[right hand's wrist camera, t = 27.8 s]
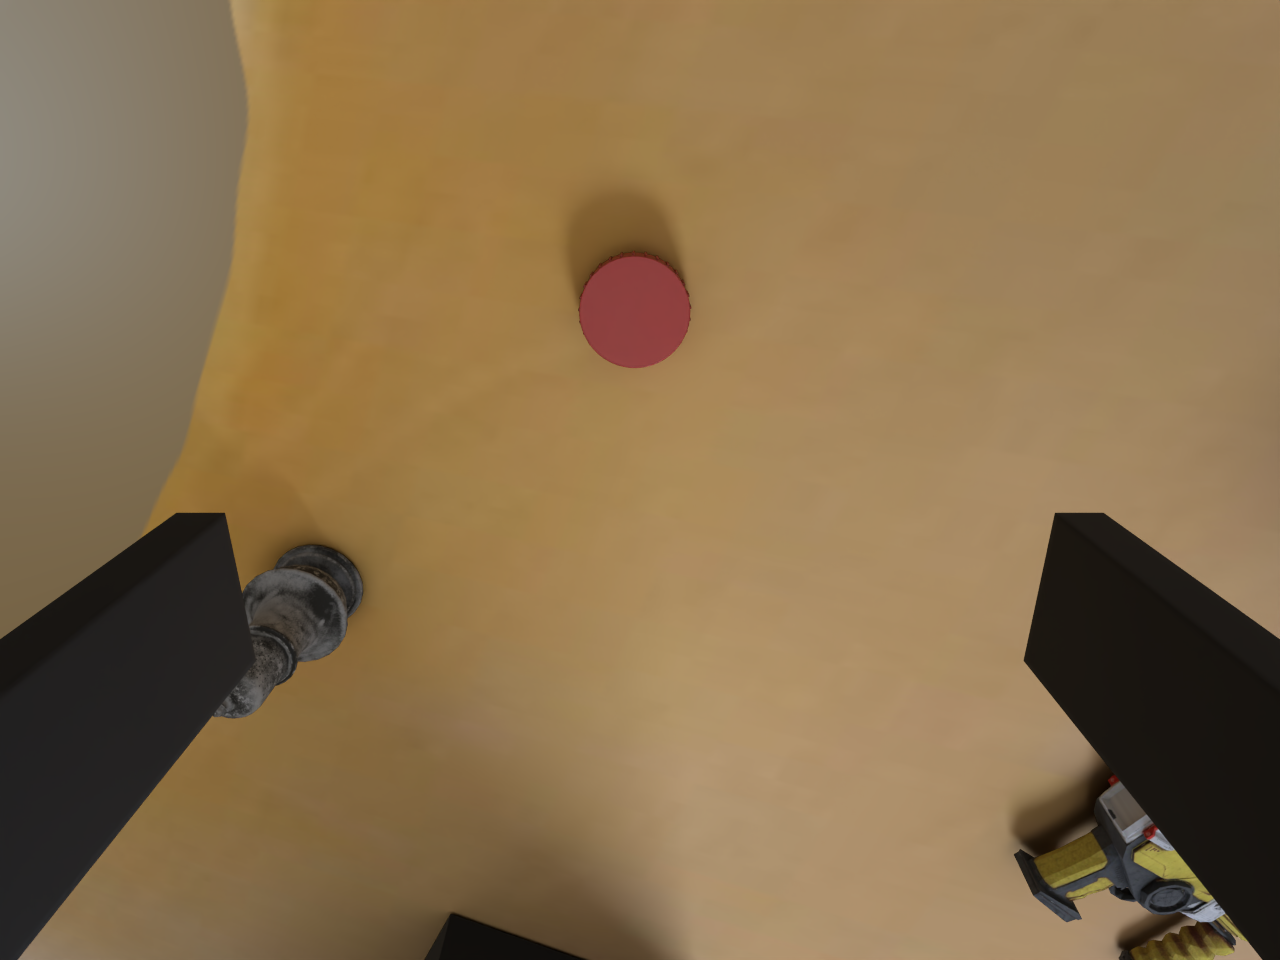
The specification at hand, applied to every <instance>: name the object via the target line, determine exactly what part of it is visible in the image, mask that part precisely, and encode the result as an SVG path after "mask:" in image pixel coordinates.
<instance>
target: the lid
mask: <svg viewBox="0 0 1280 960" xmlns="http://www.w3.org/2000/svg"><path fill="white" fill-rule="evenodd" d="M684 285H685V283H684V281H683V279H682V280H681V279H680V277H679V276H678V272H677V270H674V269H673V268H672V267H671V266H669V263H668V262H664V261H663V260H661V259H659V258H658V256H657V255H656V257H655V256H653V255H649V254H647V252H644V253H636V252H635V251H633V252H632V253H624V254H623V252H622V253H621V254H620V255H617V256H615V257H609V260H607V261H605V262H604V263H603V264H602V263H600V264H599V266H598V268H597V269H596V270H595V271H594V272H593V271H592V273H591V274H590V279H589V280H588V282H586V283H585V285H584V291H583V293H582V294H581V296H580V299H581V301H580V307H579V309H578V311H579V316H580V321H579V322H580V323H581V327H582V330H583V334H584V335H585V337H586V339H587V341H588V343H589V344H590V345H591V347H592V348H593V349H594V350H595V351H596V352H597V353H598V354H599V355H600V356H601V357H603V358H604V359H606V360H607V361H609V362H611V363H614V364H616V365H619V366H623V367H629V368H641V367H647V366H651V365H654V364H656V363H659V362H660V361H662V360H664V359H666V358H667V357H668V356H670V355H671V354H672V353H673V352H674V351H675V350H676V349H677V347H678V346H679V345H680V344H681V343H682V340H683V339H684V337H685V334H686V333H687V329H688V326H689V321H690V320H691V319H690V309H691V305H690V303H689V299H688V297H689V293H688V291H686V290H685V287H684Z"/></svg>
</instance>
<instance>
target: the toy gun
mask: <svg viewBox="0 0 1280 960" xmlns="http://www.w3.org/2000/svg"><path fill="white" fill-rule="evenodd" d="M1108 781H1109V783H1110V785H1111V787H1110V788H1109V789H1107V790H1106V791H1105V792H1104V793H1103V794H1102V795H1101V796H1099V797H1098V798H1097V800H1096V804H1095V808H1094V814H1095V817H1096V820H1097V824H1098V827H1096V828H1095V829H1093V830H1092V831H1091V832H1090V833H1088V834H1086V835H1084V836H1082V837H1080V838H1078V839H1077V840H1075V841H1073V842H1071V843H1069V844H1067V845H1065V846H1063V847H1061V848H1059V849H1056V850H1054V851H1051V852H1049V853H1046V854H1044V855H1041V856H1038V857H1032V856H1031V855H1029V854H1027V853H1026V852H1024V851H1022V850H1021V849H1020V850H1019V852H1017V853H1015V854H1014V856H1015V858H1016V860H1017V862H1018V864H1019V866H1020V868H1021V871H1022V873H1023V875H1024V877H1025V879H1026V881H1027V883H1028V885H1029V888H1030V890H1031V892H1032V894H1033V896H1035V897H1036V898H1037V899H1038V900H1039V901H1040V902H1042V903H1043V904H1044V905H1045V906H1047V907H1048V908H1049V909H1050V910H1052V911H1053V912H1054V913H1055V914H1057V915H1058V916H1059V917H1060V918H1062V919H1063V920H1064V921H1066V922H1069V921H1072V920H1075V919H1077V920H1080V919H1082V918H1081V916H1080V914H1079V912H1078V910H1077V908H1076V906H1075V904H1074V902H1073V900H1077V899H1081V898H1085V897H1086V896H1087V895H1089V894H1092V893H1096V892H1099V891H1103V890H1105V889H1107V888H1109V890H1110V893H1111V894H1113V895H1114V896H1116V897H1118V898H1119V899H1121V900H1126V901H1131V902H1135V901H1138V902H1139V903H1140V904H1141V905H1142V906H1143V907H1144V908H1146V909H1147V910H1149V911H1150V912H1152V913H1153V914H1159V915H1166V914H1173V913H1176V912H1178V911H1179V912H1181V913H1183V914H1185V915H1187V916H1188V917H1190V918H1192V919H1194V920H1197V923H1196V925H1195V926H1184V927H1181V930H1180V932H1179V934H1175V933H1171V932H1170V933H1168V934H1166V935H1165V936H1164V938H1163V940H1162V941H1157V940H1152V941H1148V944H1147V946H1146V948H1144V947H1139V946H1137V947H1135V948H1133V949H1131V951H1128V950H1125V951H1122V953H1121V955H1120V957H1119V960H1213V959H1214V957H1215V954H1216V955H1222V956H1226V955H1228V954H1231V953H1234V947H1233V945H1236V940H1235V939H1234V937H1233V936H1232V934H1233V935H1234V936H1236V937H1239V938H1240V939H1242V940H1245V941H1247V940H1246V938H1245V937H1244V936H1243V935H1242V933H1241V932H1240V931H1239V930H1238V928H1237V927H1236V926H1235V925H1234V923H1233V922H1232V921H1231V920H1230V918H1229V917H1228V916H1227V915H1226V913H1225V912H1224V911H1223V910H1222V908H1221V907H1220V906H1219V905H1218V903H1217V902H1216V901H1215V900H1214V898H1213V897H1212V896H1211V895H1210V893H1209V892H1208V891H1207V890H1206V888H1205V887H1204V886H1203V885H1202V883H1201V882H1200V881H1199V879H1198V878H1197V877H1196V876H1195V874H1194V873H1193V872H1192V871H1191V869H1190V868H1189V867H1188V866H1187V864H1186V863H1185V862H1184V861H1183V859H1182V858H1181V857H1180V856H1179V854H1178V853H1177V852H1176V851H1175V849H1174V848H1173V847H1172V846H1171V844H1170V843H1169V842H1168V841H1167V839H1166V838H1165V837H1164V836H1163V834H1162V833H1161V832H1160V831H1159V829H1158V828H1157V827H1156V826H1155V824H1154V823H1153V822H1152V821H1151V819H1150V818H1149V817H1148V816H1147V814H1146V813H1145V812H1144V811H1143V809H1142V808H1141V807H1140V806H1139V804H1138V803H1137V802H1136V801H1135V799H1134V798H1133V797H1132V796H1131V794H1130V793H1129V792H1128V791H1127V789H1126V788H1125V787H1124V786H1123V784H1122V783H1121V782H1120V781H1119V779H1118V778H1117V777H1116V776H1115V775H1112V776H1111V777H1110V778H1109V779H1108ZM1126 887H1128V888H1126Z"/></svg>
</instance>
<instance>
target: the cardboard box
mask: <svg viewBox="0 0 1280 960" xmlns="http://www.w3.org/2000/svg"><path fill="white" fill-rule="evenodd" d="M425 960H580V959H578V958H575V957H572V956H569V955H566V954H563V953H561V952H558V951H555V950H552V949H549V948H546V947H543V946H541V945H538V944H535V943H532V942H529V941H526V940H524V939H521V938H518V937H515V936H512V935H509V934H507V933H504V932H501V931H498V930H495V929H492V928H489V927H487V926H484V925H481V924H478V923H475V922H472V921H470V920H467V919H464V918H461V917H458V916H455V915H453V914H450V916H449V918H448V920H447V921H446V923H445V925H444V927H443V928H442V930H441V932H440V934H439V935H438V937H437V939H436V941H435V942H434V944H433V946H432V948H431V949H430V951H429V953H428V955H427V956H426V958H425Z"/></svg>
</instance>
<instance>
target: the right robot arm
mask: <svg viewBox="0 0 1280 960" xmlns="http://www.w3.org/2000/svg"><path fill="white" fill-rule="evenodd" d="M255 662H256V657H255V652H254V647H253V643H252V638H251V633H250V629H249V624H248V619H247V614H246V610H245V605H244V600H243V596H242V591H241V586H240V582H239V577H238V572H237V567H236V563H235V558H234V553H233V549H232V544H231V539H230V534H229V530H228V525H227V520H226V516H225V513H176V514H174V515H173V516H171V517H170V518H169V519H167V520H166V521H164V522H163V523H162V524H160V525H159V526H158V527H156V528H155V529H153V530H152V531H151V532H149V533H148V534H146V535H145V536H144V537H142V538H141V539H139V540H138V541H137V542H135V543H134V544H132V545H131V546H130V547H128V548H127V549H125V550H124V551H123V552H121V553H120V554H118V555H117V556H116V557H114V558H113V559H112V560H110V561H109V562H107V563H106V564H105V565H103V566H102V567H100V568H99V569H98V570H96V571H95V572H93V573H92V574H91V575H89V576H88V577H86V578H85V579H84V580H82V581H81V582H79V583H78V584H77V585H75V586H74V587H72V588H71V589H70V590H68V591H67V592H66V593H64V594H63V595H61V596H60V597H59V598H57V599H56V600H54V601H53V602H52V603H50V604H49V605H47V606H46V607H45V608H43V609H42V610H40V611H39V612H38V613H36V614H35V615H34V616H32V617H31V618H29V619H28V620H26V621H25V622H24V623H22V624H21V625H20V626H18V627H17V628H15V629H14V630H13V631H11V632H10V633H8V634H7V635H6V636H4V637H3V638H2V639H0V960H18V958H19V957H20V956H21V955H22V953H23V952H24V951H25V950H26V948H27V947H28V946H29V945H30V943H31V942H32V941H33V940H34V938H35V937H36V936H37V935H38V933H39V932H40V931H41V930H42V928H43V927H44V926H45V925H46V923H47V922H48V921H49V920H50V918H51V917H52V916H53V915H54V913H55V912H56V911H57V910H58V908H59V907H60V906H61V905H62V903H63V902H64V901H65V900H66V898H67V897H68V896H69V895H70V893H71V892H72V891H73V890H74V888H75V887H76V886H77V885H78V883H79V882H80V881H81V879H82V878H83V877H84V876H85V874H86V873H87V872H88V871H89V869H90V868H91V867H92V866H93V864H94V863H95V862H96V861H97V859H98V858H99V857H100V856H101V854H102V853H103V852H104V851H105V849H106V848H107V847H108V846H109V844H110V843H111V842H112V841H113V839H114V838H115V837H116V836H117V834H118V833H119V832H120V831H121V829H122V828H123V827H124V826H125V824H126V823H127V822H128V821H129V819H130V818H131V817H132V816H133V814H134V813H135V812H136V811H137V809H138V808H139V807H140V806H141V804H142V803H143V802H144V801H145V799H146V798H147V797H148V796H149V794H150V793H151V792H152V791H153V789H154V788H155V787H156V786H157V784H158V783H159V782H160V781H161V779H162V778H163V777H164V776H165V774H166V773H167V772H168V771H169V769H170V768H171V767H172V766H173V764H174V763H175V762H176V761H177V759H178V758H179V757H180V756H181V754H182V753H183V752H184V751H185V749H186V748H187V747H188V746H189V744H190V743H191V742H192V741H193V739H194V738H195V737H196V736H197V734H198V733H199V732H200V731H201V729H202V728H203V727H204V726H205V724H206V723H207V722H208V721H209V719H210V718H211V717H212V716H213V714H214V713H215V712H216V710H217V709H218V708H219V707H220V705H221V704H222V703H223V702H224V700H225V699H226V698H227V697H228V695H229V694H230V693H231V692H232V690H233V689H234V688H235V687H236V685H237V684H238V683H239V682H240V680H241V679H242V678H243V677H244V675H245V674H246V673H247V672H248V670H249V669H250V668H251V667H252V665H253V664H254V663H255ZM1024 662H1025V663H1026V664H1027V665H1028V667H1029V668H1030V669H1031V670H1032V672H1033V673H1034V674H1035V675H1036V677H1037V678H1038V679H1039V680H1040V682H1041V683H1042V684H1043V685H1044V687H1045V688H1046V689H1047V690H1048V692H1049V693H1050V694H1051V695H1052V697H1053V698H1054V699H1055V700H1056V702H1057V703H1058V704H1059V705H1060V707H1061V708H1062V709H1063V710H1064V712H1065V713H1066V714H1067V716H1068V717H1069V718H1070V719H1071V721H1072V722H1073V723H1074V724H1075V726H1076V727H1077V728H1078V729H1079V731H1080V732H1081V733H1082V734H1083V736H1084V737H1085V738H1086V739H1087V741H1088V742H1089V743H1090V744H1091V746H1092V747H1093V748H1094V749H1095V751H1096V752H1097V753H1098V754H1099V756H1100V757H1101V758H1102V759H1103V761H1104V762H1105V763H1106V764H1107V766H1108V767H1109V768H1110V769H1111V771H1112V772H1113V773H1114V774H1115V776H1116V777H1117V778H1118V779H1119V781H1120V782H1121V783H1122V784H1123V786H1124V787H1125V788H1126V789H1127V791H1128V792H1129V793H1130V794H1131V796H1132V797H1133V798H1134V799H1135V801H1136V802H1137V803H1138V804H1139V806H1140V807H1141V808H1142V809H1143V811H1144V812H1145V813H1146V814H1147V816H1148V817H1149V818H1150V819H1151V821H1152V822H1153V823H1154V824H1155V826H1156V827H1157V828H1158V829H1159V831H1160V832H1161V833H1162V834H1163V836H1164V837H1165V838H1166V839H1167V841H1168V842H1169V843H1170V844H1171V846H1172V847H1173V848H1174V849H1175V851H1176V852H1177V853H1178V854H1179V856H1180V857H1181V858H1182V859H1183V861H1184V862H1185V863H1186V864H1187V866H1188V867H1189V868H1190V869H1191V871H1192V872H1193V873H1194V874H1195V876H1196V877H1197V878H1198V879H1199V881H1200V882H1201V883H1202V885H1203V886H1204V887H1205V888H1206V890H1207V891H1208V892H1209V893H1210V895H1211V896H1212V897H1213V898H1214V900H1215V901H1216V902H1217V903H1218V905H1219V906H1220V907H1221V908H1222V910H1223V911H1224V912H1225V913H1226V915H1227V916H1228V917H1229V918H1230V920H1231V921H1232V922H1233V923H1234V925H1235V926H1236V927H1237V928H1238V930H1239V931H1240V932H1241V933H1242V935H1243V936H1244V937H1245V938H1246V940H1247V941H1248V942H1249V943H1250V945H1251V946H1252V947H1253V948H1254V950H1255V951H1256V952H1257V953H1258V955H1259V956H1260V957H1261V958H1262V960H1280V639H1279V638H1277V637H1276V636H1274V635H1273V634H1272V633H1270V632H1269V631H1267V630H1266V629H1265V628H1263V627H1262V626H1260V625H1259V624H1258V623H1256V622H1255V621H1254V620H1252V619H1251V618H1249V617H1248V616H1247V615H1245V614H1244V613H1242V612H1241V611H1240V610H1238V609H1237V608H1235V607H1234V606H1233V605H1231V604H1230V603H1228V602H1227V601H1226V600H1224V599H1223V598H1221V597H1220V596H1219V595H1217V594H1216V593H1214V592H1213V591H1212V590H1210V589H1209V588H1208V587H1206V586H1205V585H1203V584H1202V583H1201V582H1199V581H1198V580H1196V579H1195V578H1194V577H1192V576H1191V575H1189V574H1188V573H1187V572H1185V571H1184V570H1182V569H1181V568H1180V567H1178V566H1177V565H1175V564H1174V563H1173V562H1171V561H1170V560H1168V559H1167V558H1166V557H1164V556H1163V555H1162V554H1160V553H1159V552H1157V551H1156V550H1155V549H1153V548H1152V547H1150V546H1149V545H1148V544H1146V543H1145V542H1143V541H1142V540H1141V539H1139V538H1138V537H1136V536H1135V535H1134V534H1132V533H1131V532H1129V531H1128V530H1127V529H1125V528H1124V527H1122V526H1121V525H1120V524H1118V523H1117V522H1116V521H1114V520H1113V519H1111V518H1110V517H1109V516H1107V515H1106V514H1104V513H1055V516H1054V520H1053V525H1052V530H1051V534H1050V539H1049V544H1048V549H1047V553H1046V558H1045V563H1044V567H1043V572H1042V577H1041V582H1040V586H1039V591H1038V596H1037V600H1036V605H1035V610H1034V614H1033V619H1032V624H1031V629H1030V633H1029V638H1028V643H1027V647H1026V652H1025V657H1024Z"/></svg>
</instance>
